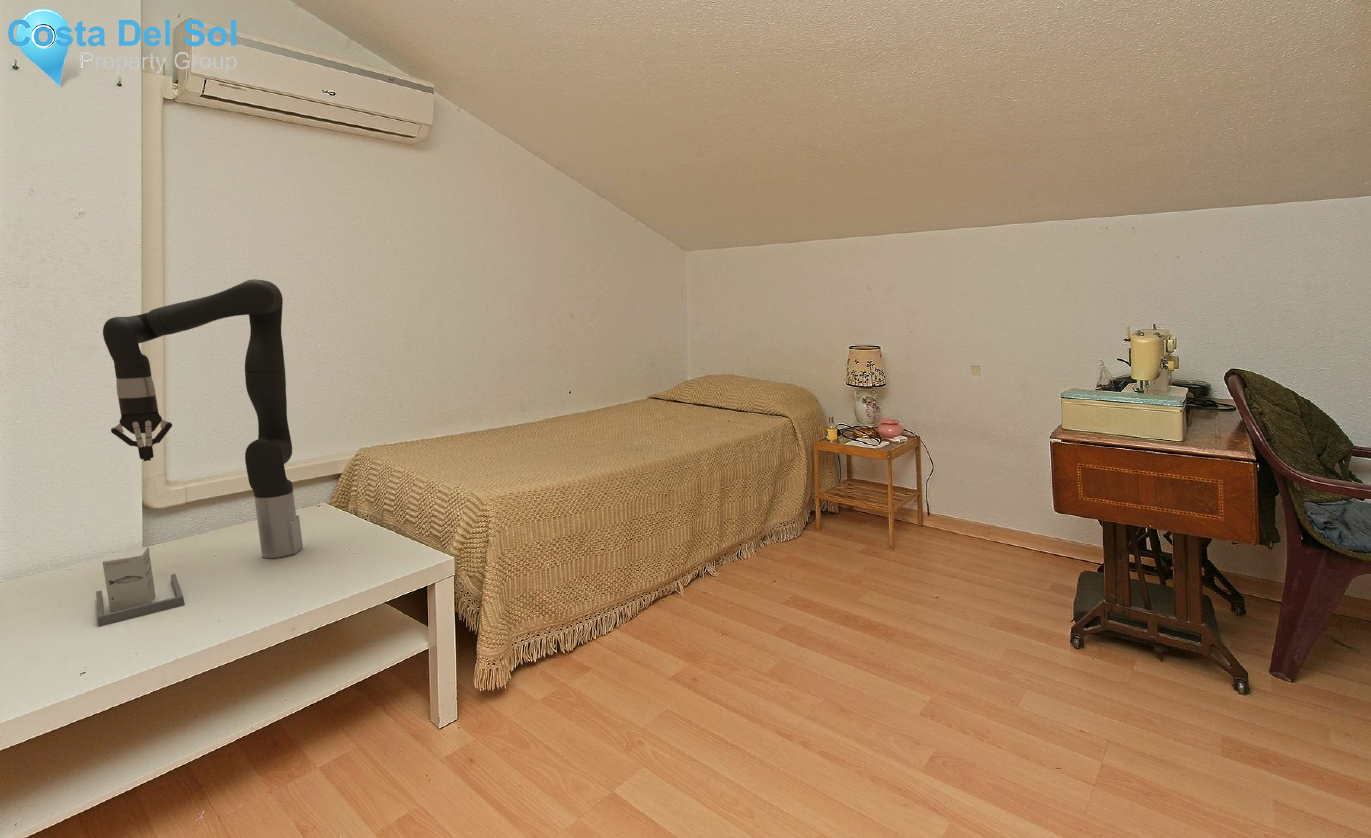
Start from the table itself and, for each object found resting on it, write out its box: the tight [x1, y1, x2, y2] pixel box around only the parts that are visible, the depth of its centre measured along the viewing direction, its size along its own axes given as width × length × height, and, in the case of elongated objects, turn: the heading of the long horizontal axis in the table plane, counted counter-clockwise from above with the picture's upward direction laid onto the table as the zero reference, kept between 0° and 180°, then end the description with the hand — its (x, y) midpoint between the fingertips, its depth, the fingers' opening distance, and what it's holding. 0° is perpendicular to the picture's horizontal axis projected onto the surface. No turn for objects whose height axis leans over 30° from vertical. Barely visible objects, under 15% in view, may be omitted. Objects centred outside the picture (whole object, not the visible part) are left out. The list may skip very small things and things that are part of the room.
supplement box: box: [102, 546, 156, 613], centre depth 152 cm, size 7×7×13 cm
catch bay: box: [95, 573, 185, 627], centre depth 154 cm, size 18×15×2 cm
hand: (147, 460), depth 172 cm, fingers closed
